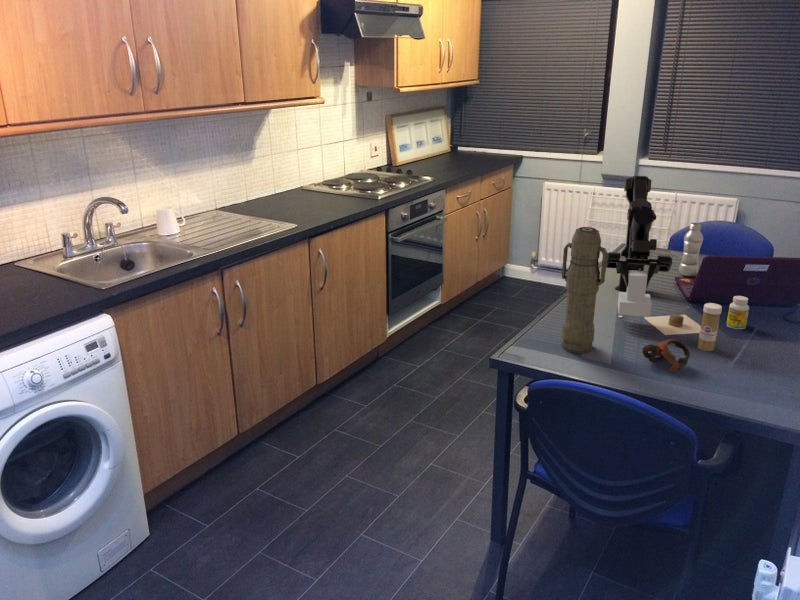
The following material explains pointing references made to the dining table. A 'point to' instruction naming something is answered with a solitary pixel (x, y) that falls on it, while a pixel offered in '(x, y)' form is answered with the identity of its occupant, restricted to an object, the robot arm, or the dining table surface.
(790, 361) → the dining table surface
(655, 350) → the pottery mug
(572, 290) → the thermos
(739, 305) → the supplement bottle
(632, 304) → the cover
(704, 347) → the sprinkles bottle
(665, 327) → the mat
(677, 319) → the puck
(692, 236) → the plastic bottle
